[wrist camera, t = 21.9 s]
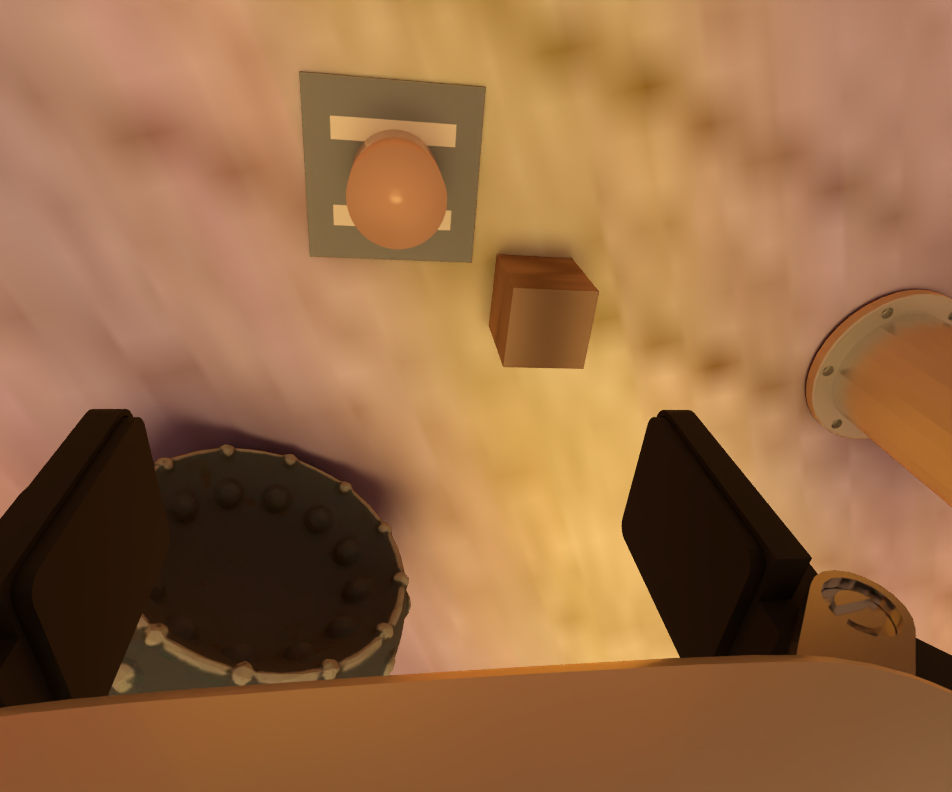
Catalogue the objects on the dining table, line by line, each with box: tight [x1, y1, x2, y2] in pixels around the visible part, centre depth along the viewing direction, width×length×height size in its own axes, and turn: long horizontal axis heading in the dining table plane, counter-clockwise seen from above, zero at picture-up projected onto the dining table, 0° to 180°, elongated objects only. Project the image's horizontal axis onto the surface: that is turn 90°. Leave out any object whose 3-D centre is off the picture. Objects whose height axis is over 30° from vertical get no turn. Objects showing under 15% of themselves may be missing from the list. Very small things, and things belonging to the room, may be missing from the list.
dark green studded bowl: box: [108, 444, 411, 696], centre depth 38 cm, size 11×20×20 cm, turn 62°
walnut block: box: [489, 255, 599, 369], centre depth 38 cm, size 5×5×6 cm
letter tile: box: [299, 72, 486, 263], centre depth 35 cm, size 10×10×1 cm
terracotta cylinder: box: [346, 129, 447, 249], centre depth 33 cm, size 5×5×6 cm
